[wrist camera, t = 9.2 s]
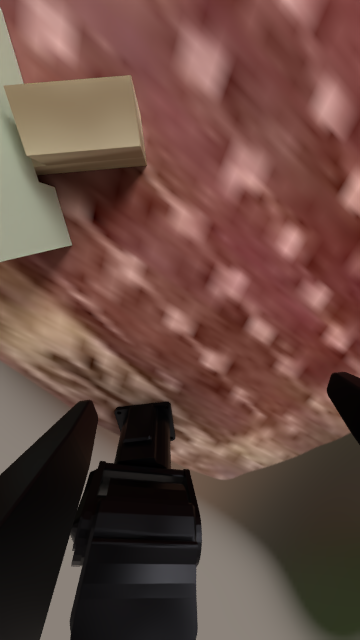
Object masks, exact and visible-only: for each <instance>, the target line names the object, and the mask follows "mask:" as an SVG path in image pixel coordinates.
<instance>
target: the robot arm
mask: <svg viewBox="0 0 360 640" xmlns="http://www.w3.org/2000/svg"><path fill="white" fill-rule="evenodd" d="M327 394H328V396H329V398H330V399H331V401H332V403H333V404H334V406H335V407H336V409H337V411H338V412H339V414H340V416H341V417H342V419H343V420H344V422H345V424H346V425H347V427H348V429H349V430H350V432H351V433H352V435H353V436H354V438H355V439H356V440H357V441H358V443H359V445H360V378H358V377H356V376H354V375H351V374H349V373H346V372H337V373H333V374H332V375H331V377H330V380H329V383H328V387H327ZM119 411H120V412H119ZM115 416H116V419H117V422H118V425H119V428H120V431H121V434H120V440H119V444H118V449H117V454H116V458H115V462H114V464H113V463H106V462H105V461H100V463H99V466H98V469H96V470H94V471H92V472H90V474H89V478H88V481H87V484H86V487H85V490H84V493H83V496H82V499H81V501H80V498H81V494H82V491H83V487H84V484H85V480H86V477H87V473H88V470H89V465H90V461H91V456H92V450H93V445H94V439H95V434H96V429H97V423H98V415H97V412H96V409H95V407H94V404H93V402H92V401H91V400H84V401H79V402H78V403H77V404H76V405H75V406H74V407H72V408H71V409H70V410H69V411H68V412H67V413H66V414H65V415H64V416H63V417H62V418H61V419H60V420H59V421H57V422H56V424H54V425H53V426H52V427H51V428H50V429H49V430H48V431H47V432H46V433H45V434H44V435H42V437H40V438H39V439H38V440H37V441H36V442H35V443H34V444H33V445H32V446H31V447H30V448H29V449H28V450H26V451H25V452H24V453H23V454H22V455H21V456H20V457H19V458H18V459H17V460H16V461H15V462H14V463H12V464H11V465H10V466H9V467H8V468H7V469H6V470H5V471H4V472H3V473H2V474H1V475H0V640H40V637H41V634H42V630H43V627H44V623H45V620H46V616H47V612H48V609H49V606H50V602H51V599H52V595H53V592H54V588H55V585H56V581H57V578H58V574H59V571H60V567H61V564H62V561H63V557H64V554H65V550H66V546H67V543H68V540H69V536H70V535H71V538H72V540H73V542H74V544H73V551H74V555H73V560H72V565H71V566H76V567H79V566H82V570H81V575H80V578H79V583H78V587H77V591H76V595H75V600H74V604H73V608H72V612H71V618H70V630H71V639H70V640H196V636H197V602H196V567H197V565H198V563H199V560H200V555H201V545H202V544H201V543H202V531H201V519H200V513H199V508H198V504H197V500H196V496H195V492H194V488H193V484H192V479H191V475H190V471H189V470H188V469H184V470H176V469H171V454H170V441H173V440H175V430H174V424H173V417H172V410H171V404H170V403H169V402H160V403H151V404H142V405H133V406H124V407H117V408H116V409H115ZM79 501H80V504H79ZM78 505H79V507H78ZM77 508H78V509H77Z"/></svg>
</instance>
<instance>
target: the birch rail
mask: <svg viewBox="0 0 360 640" xmlns="http://www.w3.org/2000/svg"><path fill="white" fill-rule="evenodd" d="M4 89H5V92H6V95H7V98H8V101H9V104H10V107H11V111H12V114H13V117H14V120H15V123H16V126H17V129H18V132H19V135H20V138H21V141H22V144H23V147H24V150H25V153H26V156H28V157H30V158H31V160H32V163H33V166H34V169H35V172H36V175H46V174H57V173H68V172H80V171H91V170H102V169H113V168H125V167H136V166H147V163H146V155H145V147H144V139H143V131H142V124H141V116H140V112H139V107H138V103H137V99H136V95H135V90H134V86H133V82H132V78H131V75H129V76H116V77H104V78H91V79H79V80H66V81H54V82H41V83H29V84H16V85H4Z"/></svg>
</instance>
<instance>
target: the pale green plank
mask: <svg viewBox="0 0 360 640" xmlns="http://www.w3.org/2000/svg"><path fill="white" fill-rule="evenodd" d="M16 84H24V83H23V80H22V76H21V73H20V70H19V66H18V63H17V60H16V56H15V53H14V50H13V46H12V43H11V40H10V36H9V33H8V30H7V26H6V23H5V20H4V16H3V13H2V10H1V8H0V262H2V261H6V260H10V259H15V258H19V257H23V256H28V255H32V254H36V253H41V252H45V251H49V250H54V249H58V248H62V247H66V246H71V245H72V243H71V240H70V237H69V233H68V230H67V227H66V223H65V220H64V217H63V213H62V210H61V207H60V203H59V200H58V197H57V193H56V190H55V187H53V186H50V185H47V184H43V183H40V182H39V181H38V178H37V175H36V172H35V169H34V166H33V163H32V160H31V158H30V157H28V156H26V153H25V150H24V147H23V144H22V141H21V138H20V135H19V132H18V129H17V126H16V123H15V120H14V117H13V114H12V111H11V107H10V104H9V101H8V98H7V95H6V92H5V89H4V85H16Z"/></svg>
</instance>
